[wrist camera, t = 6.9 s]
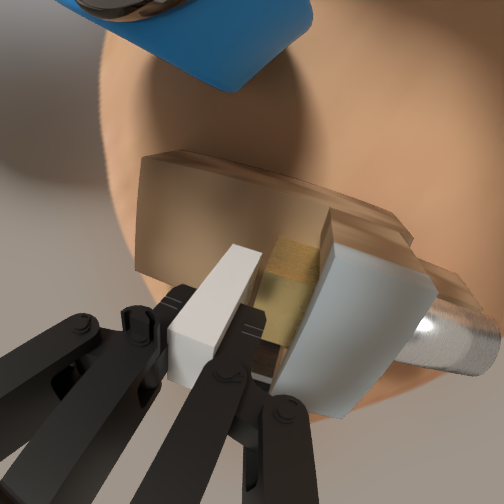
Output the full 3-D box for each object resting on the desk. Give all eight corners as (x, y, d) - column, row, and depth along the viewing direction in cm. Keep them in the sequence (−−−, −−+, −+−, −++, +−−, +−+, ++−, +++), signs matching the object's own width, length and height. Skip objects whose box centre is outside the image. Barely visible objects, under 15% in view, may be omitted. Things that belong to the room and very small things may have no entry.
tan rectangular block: (262, 290, 16) (245, 333, 13) (279, 235, 14) (264, 270, 11) (340, 314, 16) (342, 362, 12) (365, 264, 14) (376, 306, 10)
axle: (339, 315, 16) (339, 364, 12) (367, 260, 14) (378, 305, 10) (455, 347, 15) (469, 388, 11) (486, 304, 13) (509, 344, 9)
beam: (168, 243, 22) (79, 317, 13) (180, 150, 19) (65, 176, 9) (427, 326, 20) (459, 428, 10) (471, 248, 16) (545, 333, 6)
